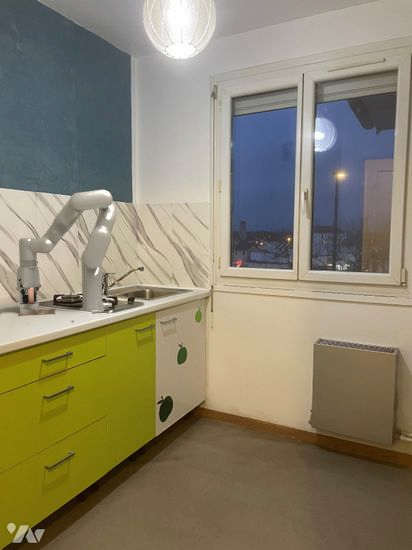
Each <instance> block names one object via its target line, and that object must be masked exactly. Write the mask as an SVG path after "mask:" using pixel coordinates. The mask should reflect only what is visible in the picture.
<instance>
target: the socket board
mask: <svg viewBox="0 0 412 550" xmlns="http://www.w3.org/2000/svg"><path fill="white" fill-rule="evenodd" d="M45 315H47V316H48V315H56V308H48V309H46V308H45V309H40V302H39V301H37V302H34V304H25V303H23V302H21V301H20V303H19V312H18V315H17V316H18V317H21V316H22V317H24V316H26V317H27V316H28V317H29V316H45Z"/></svg>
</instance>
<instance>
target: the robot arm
mask: <svg viewBox="0 0 412 550" xmlns="http://www.w3.org/2000/svg"><path fill="white" fill-rule="evenodd" d="M95 209H98V215H97V218H96V222H95V224H94V226H93V229H92V231H91V232H90V234H89V238H88V241H87V244H86V247H85V250H83V252H82V254H81V259H80V261H81V292H82V293H81V295H82V297H81V298H82V302H81V303H82V307H80V308H79V310H80V311H82V312H91V313H92V314H97V313H103V312H105V311H106V308H107V307H108V308H109V307H110V308H112V307H113V306H112V305H113V304H112V302H104V301H103V286H102V285H103V275H102V273H103V272H102V271H103V269H102V267H103V266H102V263H103V261H104V259H105V256H106V255H107V252H108V248H109V247H110V243H111V240H112V236H111V235H112V234H111V233H112V231H113V228H114V225H115V222H116V219H117V215H118V214H117V207H116V204H115V202H114V201H113V196H112V193H111V192H110V191H108V190H106V189H95V190H89V191H82V192H81V191H80V192H75V193H73V194H72V195H70V198H69V200H68V201H67V202H66V203H65V205H64V206H63V207H62V209H60V210H59V212H58V213H57V214H56V216H55V217H54V219H53V221H52V223H51V225H50V226H49V227H48V229H47V230H46V231H45V233H44V234H43V235H42V236H41V237H39V238H33V237H22V238H19V239H18V252H19V253H18V254H19V255H18V256H19V258H18V259H19V267H18V268H17V274H16V288H15V289H16V291H18V292H19V293H21V294H22V295H23V303H29V298H28V295H27V292H28V288H31V287H34V302H36V293H37V294H38V291H39V289H40V288H41V287H42V284H41V282H40V281H41V279H40V271H39V266H38V262H39V261H38V258H37V253H38V254H43V255H45V254H49V253H51V252H52V251H53V249H54V248H55V247H56V246H57V245H58V243H59V242H60V240H62V238H63V237H64V236H65V234H66V233H67V232H69V231H70V229H71V228H72V227H73V226H74V225H75V223H76V222H77V220H79V218H80V217H81V216H82V215H83V213H84V212H85V211H89V210H95ZM104 310H105V311H104Z"/></svg>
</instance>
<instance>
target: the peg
mask: <svg viewBox="0 0 412 550" xmlns="http://www.w3.org/2000/svg"><path fill="white" fill-rule="evenodd" d="M27 295H28V298H29V303H25V304H34V287H31V288H28V292H27Z"/></svg>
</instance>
